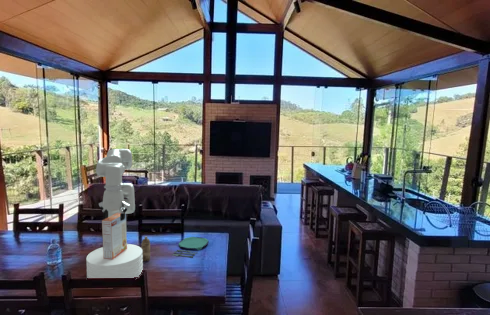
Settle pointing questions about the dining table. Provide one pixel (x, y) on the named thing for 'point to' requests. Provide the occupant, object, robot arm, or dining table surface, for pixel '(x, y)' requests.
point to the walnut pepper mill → (146, 249)
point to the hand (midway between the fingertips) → (114, 219)
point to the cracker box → (114, 236)
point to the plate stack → (115, 263)
